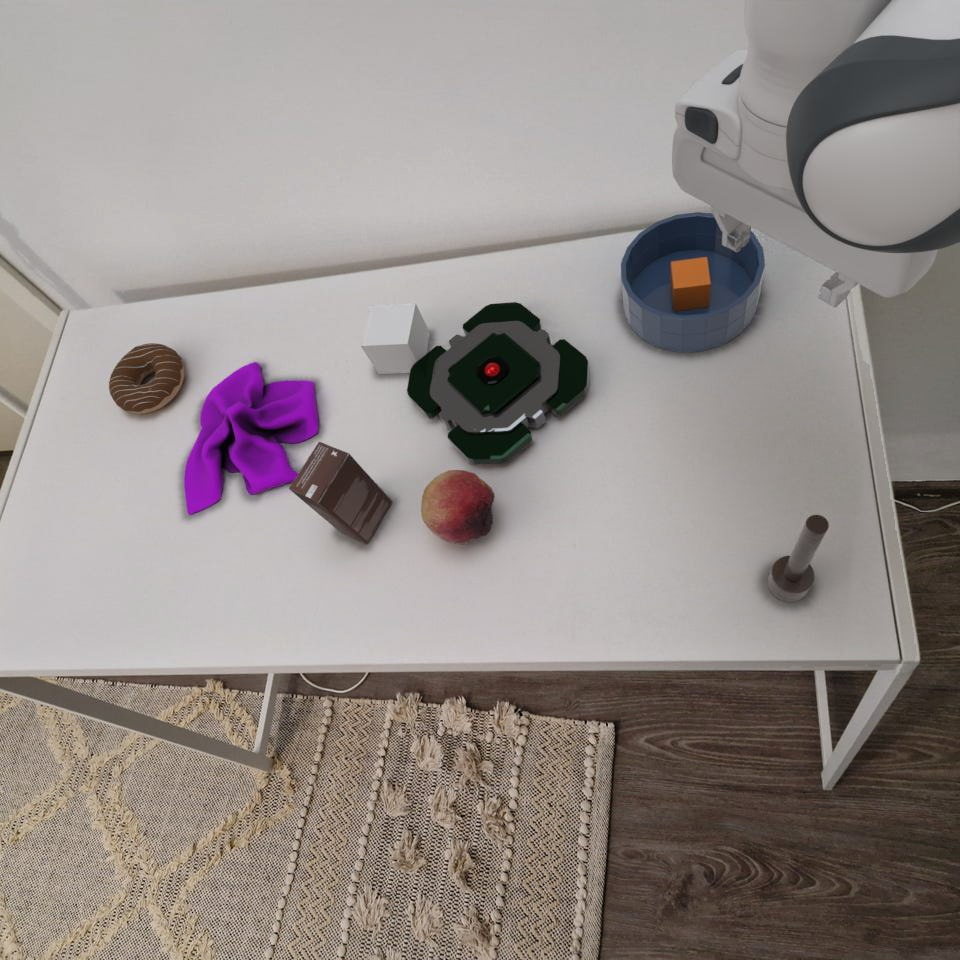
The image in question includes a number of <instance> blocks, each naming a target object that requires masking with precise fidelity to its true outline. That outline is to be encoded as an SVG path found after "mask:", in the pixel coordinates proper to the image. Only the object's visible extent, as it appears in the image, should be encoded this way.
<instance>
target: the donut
mask: <svg viewBox="0 0 960 960" xmlns="http://www.w3.org/2000/svg"><path fill="white" fill-rule="evenodd" d="M182 360H183V358H182V357H181V356H180V355H179V354H178V352H177V351H176V350H174V349H173V348H171V347H169V346H167V345H165V344H163V343H155V342H153V343H152V342H151V343H144V344H140V345H136V346H134V347H133V348H132V349H130V350H129V351H128V352H127V353H125V354H124V355H123V356H122V357H121V358H120V360H119V361H118V362H117V363H116V365H115V367H114V369H112V372H111V374H110V377H109V381H108V390H109V395H110V396H111V398H112V400H113V401H114V403H115V404H116V406H117V407H119V408H121V409H122V410H123V411H124V412H128V413H132V414H148V413H153V412H154V411H157V410H160V409H162V408H163V407H164V406H166V405H168V403H170V402H171V401H172V400H173V399H174V398H175V397H176V396H177V394H178V393H179V391H180V390H181V387H182V385H183V382H184V379H185V366H184V362H183V361H182ZM153 372H154V373H155V376H154V377H153V379H152V380H151V381H149V382H147V383H145V384H144V383H143V384H141V383H142V381H143V380H144V379H145V378H146V377H147V376H148V375H150V374H151V373H153Z"/></svg>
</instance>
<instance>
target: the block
mask: <svg viewBox="0 0 960 960" xmlns="http://www.w3.org/2000/svg"><path fill="white" fill-rule="evenodd" d="M710 288H711V281H710V274H709V267H708V259H707V257H702V258H695V259H687V260H680V261H672V262H671V294H672V303H673V311H681V310H689V309H698V308H706V307H709V301H710Z"/></svg>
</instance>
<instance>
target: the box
mask: <svg viewBox="0 0 960 960" xmlns="http://www.w3.org/2000/svg"><path fill="white" fill-rule="evenodd" d="M288 489H289V490H290V491H291V493H292V494H294V495H295V496H297V497H298V498H299V499H300V500H301V501H302V502H303V503H305V504H306V505H307V506H308V507H310V508H311V509H312V510H313V511H315V512H316V513H317V514H318V516H319V517H320V516H321V518H323V519H324V520H325V521H326V522H327V523H329V524H330V525H331V526H332V527H333V528H335V529H336V530H337V531H338V532H339V533H341V534H343V535H345V536H346V537H347V536H348V537H350V538H352V539H354V540H356V541H357V542H360V543H361V544H364V545H368V544H369V542H370V541H371V538H372V537H373V535H374V533H375V532H376V530H377V528H379V525H380V523H382V520H383V518H384V517H385V515H386V513H387V511H388V510H389V509H390V506H391V505H392V504H393V500H392V499H391V498H390V497H389V496H388V495H387V494H386V493H385V492H384V490H382V488H381V487H380V486H379V485H378V484H377V483H376V482H375V480H374V479H373V478H372V477H371V476H370V475H369V474H368V473H367V472H366V471H365V469H364V468H363V467H362V466H361V465H360V464H359V462H357V460H356V459H354V457H353V456H352V455H351V454H350V452H347V451H344V450H342V449H339V448H336V447H334V446H331V445H329V444H326V443H324V442H322V441H318V442H317V444H316V445H315V447H314V448H313V450H312V452H310V455H309V456H308V458H307V459H306V461H305V462H304V464H303V466H302V467H301V469H300V470H299V472H298V475H297V477H296V478H295V480H294V481H292V482H291V485H290V486H289V487H288Z"/></svg>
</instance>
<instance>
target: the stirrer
mask: <svg viewBox="0 0 960 960" xmlns="http://www.w3.org/2000/svg"><path fill="white" fill-rule="evenodd" d="M829 527H830V523H829V521H828V519H827V518H826V517H825V516H823V515H821V514H812V515H810V516H808V517H807V518H806V520H805V523H804V525H803V527H802V529H801V532H800V533H799V536H798V538H797V540H796V543H795V544H794V547H793V549H792V552H791V553H790V555H784V556H781V557H779V558H778V559H777V560H776V561H775V562H774V563H773V565H772V567H771V569H770V572H769V575H768V577H767V587H768V589H769V592H770V593H771V595H772V596H774V597H775V599H778V600H779V601H782V602H785V603H795V602H799V601H801V600H802V599H804V598H805V597H806V595H807V594H808V593H809V591H810V590H811V587H812V585H814V581H815V572H814V569H813V567H812V566H811V562H812V559H813V558H814V556H815V554H816V552H817V550H818V549H819V546H820V544H821V543H822V541H823V539H824V537H825V535H826V533H827V531H828V530H829Z"/></svg>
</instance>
